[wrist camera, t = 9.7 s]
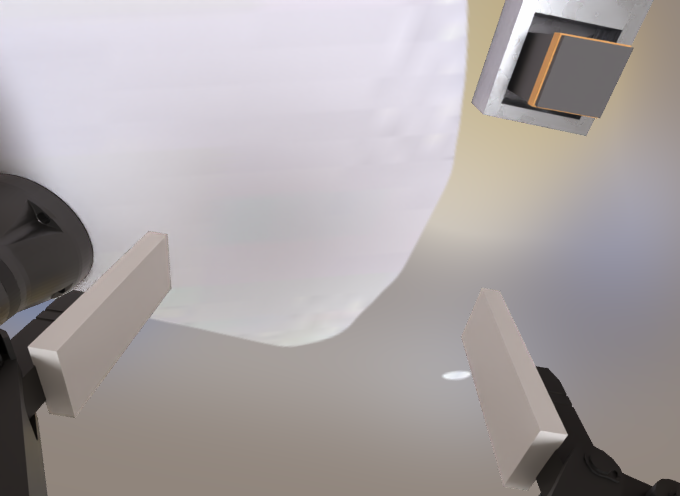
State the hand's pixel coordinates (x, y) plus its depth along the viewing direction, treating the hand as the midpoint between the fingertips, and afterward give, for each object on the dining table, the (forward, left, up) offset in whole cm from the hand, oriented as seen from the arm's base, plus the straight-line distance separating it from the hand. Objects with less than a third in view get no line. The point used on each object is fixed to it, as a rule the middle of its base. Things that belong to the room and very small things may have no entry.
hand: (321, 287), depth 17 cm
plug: (+13, +9, -23) cm, 27 cm away
